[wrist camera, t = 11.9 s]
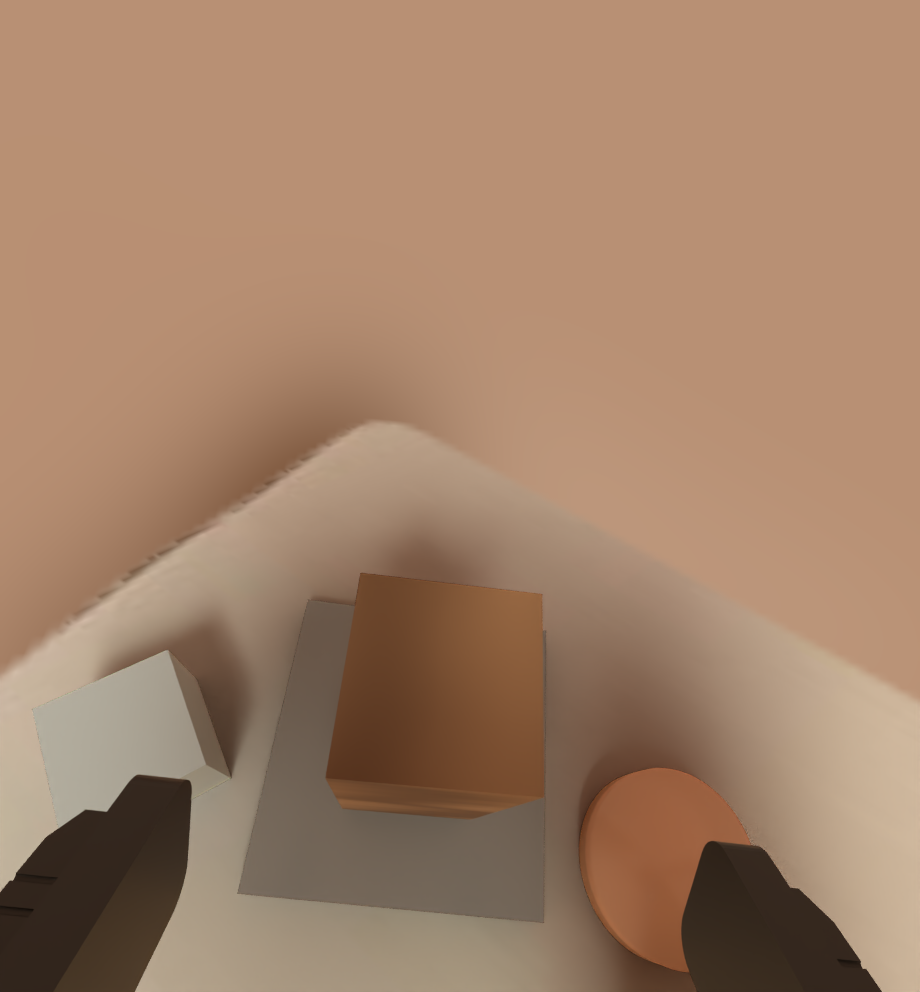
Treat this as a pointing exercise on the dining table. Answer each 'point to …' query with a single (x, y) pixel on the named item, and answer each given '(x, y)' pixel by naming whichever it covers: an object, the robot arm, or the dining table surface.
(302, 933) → the dining table surface
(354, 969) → the dining table surface
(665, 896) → the orange disc
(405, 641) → the walnut block
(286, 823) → the slate coaster
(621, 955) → the dining table surface
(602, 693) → the dining table surface
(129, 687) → the grey cube
